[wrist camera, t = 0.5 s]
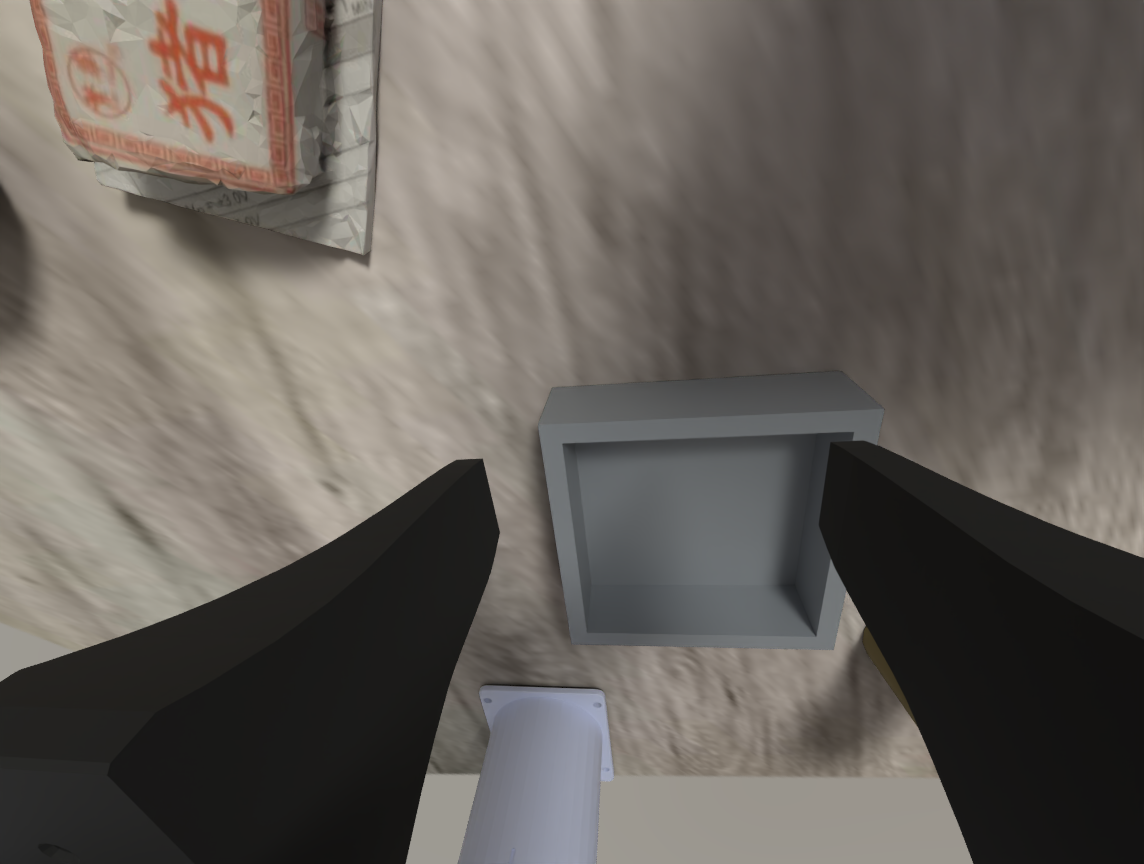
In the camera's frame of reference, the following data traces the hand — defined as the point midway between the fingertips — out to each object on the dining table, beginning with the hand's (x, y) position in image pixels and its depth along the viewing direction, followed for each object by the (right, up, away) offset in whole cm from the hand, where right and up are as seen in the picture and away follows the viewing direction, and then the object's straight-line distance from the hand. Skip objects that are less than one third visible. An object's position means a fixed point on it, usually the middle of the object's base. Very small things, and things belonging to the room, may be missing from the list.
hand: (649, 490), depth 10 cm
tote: (+4, -2, +12) cm, 13 cm away
